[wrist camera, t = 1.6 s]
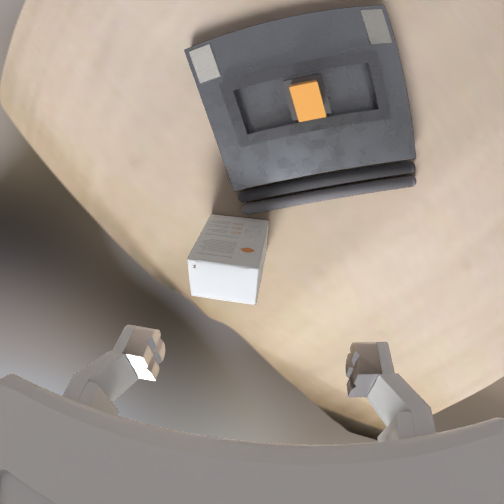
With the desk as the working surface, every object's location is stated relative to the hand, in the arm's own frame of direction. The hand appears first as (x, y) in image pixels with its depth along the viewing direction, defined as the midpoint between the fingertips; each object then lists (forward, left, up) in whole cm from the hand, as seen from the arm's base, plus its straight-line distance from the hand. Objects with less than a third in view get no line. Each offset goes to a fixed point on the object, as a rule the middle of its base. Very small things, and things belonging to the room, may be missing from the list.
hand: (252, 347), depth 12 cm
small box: (+9, +9, -27) cm, 30 cm away
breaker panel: (-4, -7, -27) cm, 28 cm away
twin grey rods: (-4, +5, -27) cm, 28 cm away
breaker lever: (-4, -7, -25) cm, 26 cm away
